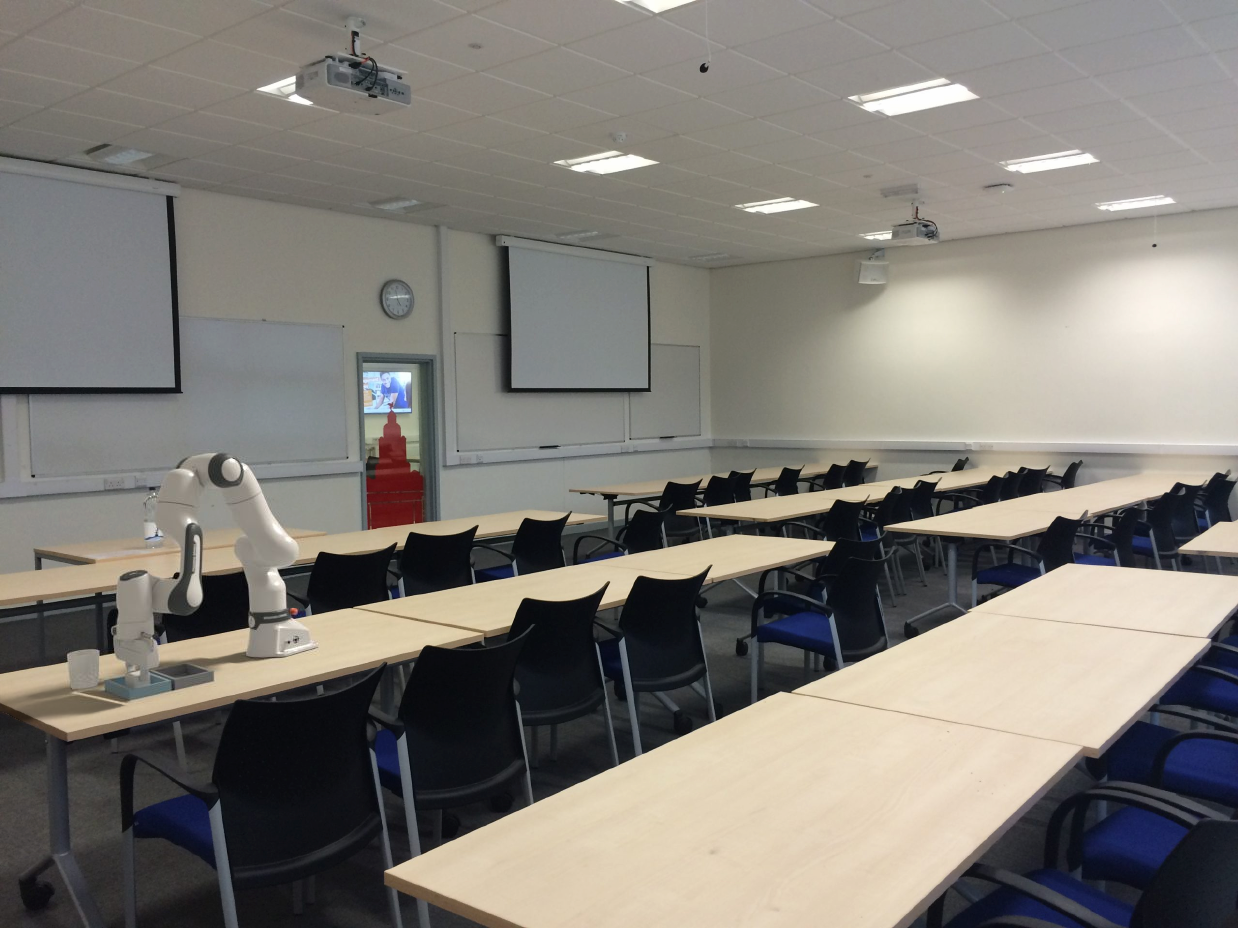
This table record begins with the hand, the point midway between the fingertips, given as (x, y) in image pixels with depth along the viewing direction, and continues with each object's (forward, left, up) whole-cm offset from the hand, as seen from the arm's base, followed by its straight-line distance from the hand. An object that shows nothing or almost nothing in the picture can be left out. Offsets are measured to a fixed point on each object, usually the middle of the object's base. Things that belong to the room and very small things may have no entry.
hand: (137, 679), depth 253 cm
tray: (-12, 0, -4) cm, 12 cm away
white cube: (0, 0, -3) cm, 3 cm away
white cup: (+7, -18, -4) cm, 20 cm away
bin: (0, 0, -4) cm, 4 cm away
